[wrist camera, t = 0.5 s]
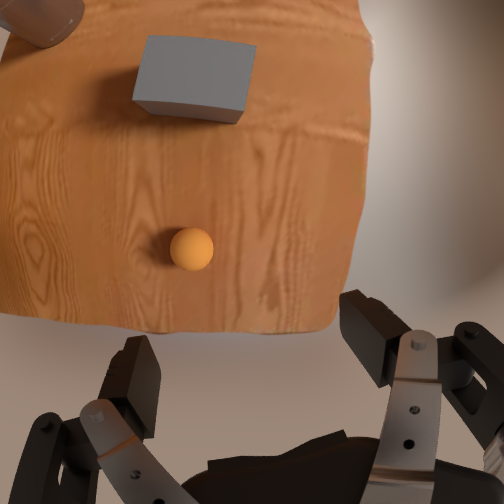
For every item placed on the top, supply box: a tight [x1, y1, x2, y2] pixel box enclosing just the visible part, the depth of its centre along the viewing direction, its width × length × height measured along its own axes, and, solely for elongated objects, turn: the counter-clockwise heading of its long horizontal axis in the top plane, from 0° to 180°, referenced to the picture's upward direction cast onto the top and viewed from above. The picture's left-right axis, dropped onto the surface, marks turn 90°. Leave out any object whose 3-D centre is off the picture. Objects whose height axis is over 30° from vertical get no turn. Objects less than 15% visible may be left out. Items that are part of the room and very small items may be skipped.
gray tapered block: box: [132, 35, 257, 124], centre depth 26 cm, size 10×7×9 cm, turn 81°
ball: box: [170, 227, 213, 271], centre depth 33 cm, size 5×5×5 cm
